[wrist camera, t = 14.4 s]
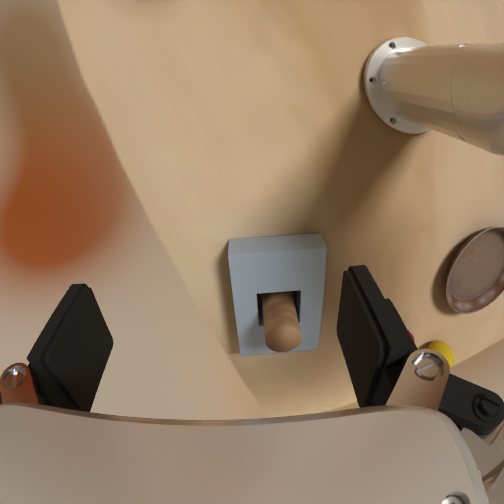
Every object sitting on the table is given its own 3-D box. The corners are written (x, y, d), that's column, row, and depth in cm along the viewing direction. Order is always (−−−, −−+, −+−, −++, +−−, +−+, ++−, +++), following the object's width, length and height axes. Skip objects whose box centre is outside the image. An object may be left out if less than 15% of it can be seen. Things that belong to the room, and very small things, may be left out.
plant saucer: (426, 259, 45) (435, 269, 42) (501, 199, 40) (512, 207, 37) (450, 318, 52) (457, 329, 49) (514, 268, 47) (522, 276, 44)
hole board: (320, 233, 42) (327, 247, 38) (313, 331, 51) (318, 349, 47) (228, 239, 42) (227, 254, 38) (240, 337, 51) (240, 355, 47)
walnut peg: (291, 277, 45) (302, 325, 36) (291, 301, 47) (300, 350, 38) (260, 279, 45) (264, 328, 36) (261, 303, 47) (266, 353, 39)
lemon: (438, 349, 56) (454, 376, 49) (417, 354, 56) (431, 384, 49) (445, 330, 53) (463, 358, 46) (423, 336, 53) (439, 365, 46)
